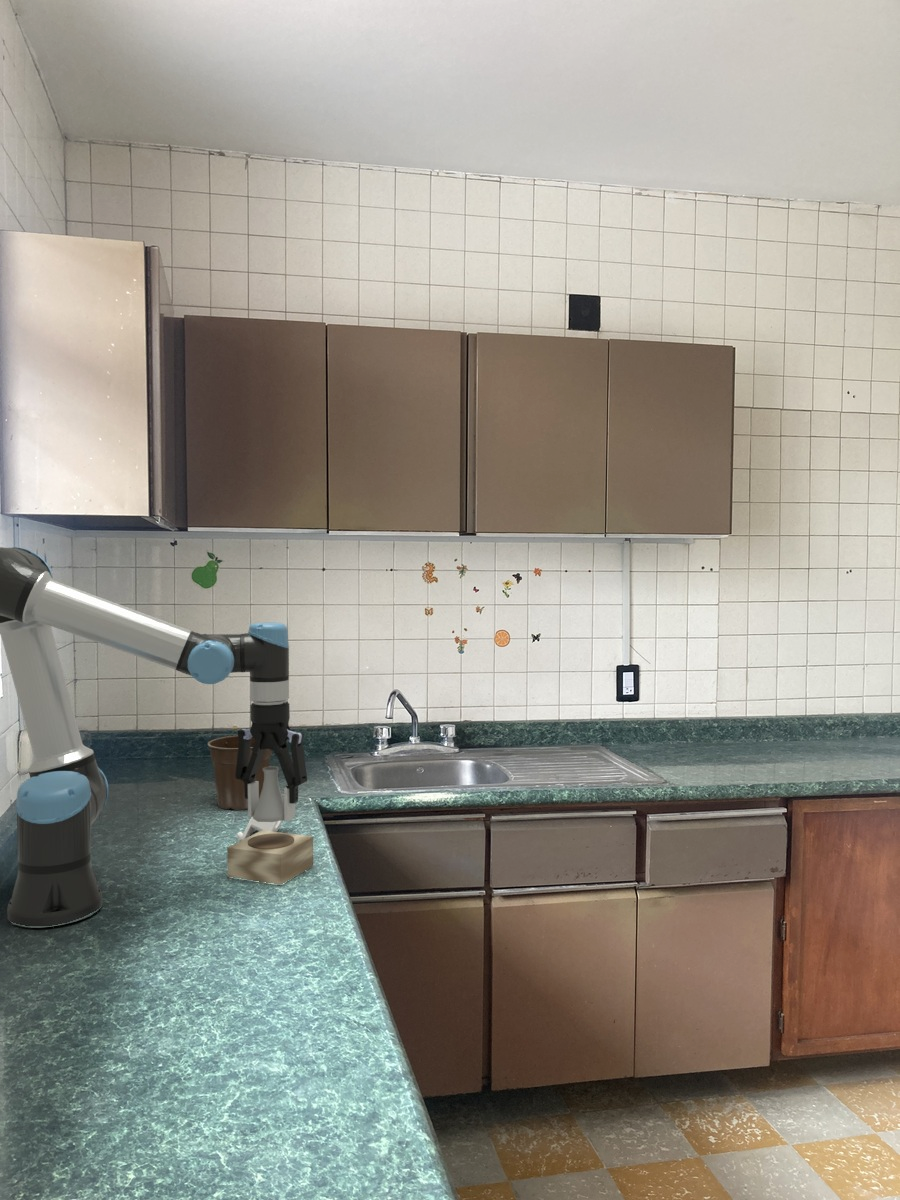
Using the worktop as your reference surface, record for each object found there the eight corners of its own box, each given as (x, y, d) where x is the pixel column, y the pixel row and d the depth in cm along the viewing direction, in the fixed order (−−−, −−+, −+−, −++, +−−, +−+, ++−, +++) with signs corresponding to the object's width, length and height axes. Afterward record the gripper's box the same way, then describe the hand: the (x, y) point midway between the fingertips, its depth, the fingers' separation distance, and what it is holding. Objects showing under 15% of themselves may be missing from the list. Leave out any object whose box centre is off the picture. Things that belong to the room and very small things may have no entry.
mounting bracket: (259, 854, 193) (279, 810, 192) (233, 842, 193) (253, 797, 193) (274, 837, 205) (293, 795, 204) (250, 826, 205) (268, 784, 205)
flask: (253, 824, 171) (252, 773, 171) (251, 814, 178) (251, 764, 178) (291, 822, 173) (290, 770, 173) (288, 811, 180) (288, 762, 180)
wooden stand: (227, 878, 173) (227, 845, 173) (262, 858, 184) (261, 828, 184) (281, 886, 169) (281, 853, 168) (313, 866, 180) (313, 835, 180)
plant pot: (225, 817, 214) (225, 750, 214) (197, 803, 227) (197, 740, 226) (286, 805, 225) (285, 741, 224) (256, 792, 237) (255, 732, 237)
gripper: (325, 701, 175) (326, 817, 176) (236, 696, 182) (238, 807, 183) (305, 707, 168) (307, 827, 169) (214, 701, 175) (216, 817, 176)
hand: (271, 817), depth 176 cm, fingers closed on flask, 7 cm apart
